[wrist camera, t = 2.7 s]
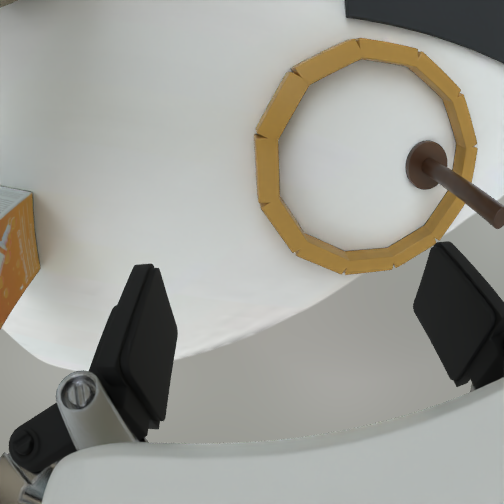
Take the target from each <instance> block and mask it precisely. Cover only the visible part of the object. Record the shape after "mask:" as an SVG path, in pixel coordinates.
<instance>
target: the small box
mask: <svg viewBox="0 0 504 504" xmlns="http://www.w3.org/2000/svg"><path fill="white" fill-rule="evenodd" d="M39 270H40V263H39V259H38V253H37V246H36V238H35V229H34V217H33V197H32V192H29V191H24V190H18V189H13V188H7V187H3V186H0V329H1V327H2V326H3V324H4V322H5V321H6V319H7V317H8V316H9V314H10V313H11V311H12V309H13V308H14V306H15V305H16V303H17V302H18V300H19V299H20V297H21V296H22V294H23V293H24V291H25V290H26V288H27V287H28V285H29V284H30V283H31V281H32V280H33V278H34V277H35V276H36V274H37V273H38V272H39Z"/></svg>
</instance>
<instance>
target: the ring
mask: <svg viewBox="0 0 504 504" xmlns="http://www.w3.org/2000/svg"><path fill="white" fill-rule="evenodd" d="M360 59H362V60H370V61H377V62H384V63H390V64H396V65H401V66H407V67H408V68H409V69H410V70H411V71H412V72H414V73H415V74H416V75H417V76H418V77H419V78H420V79H422V80H423V81H424V82H425V83H426V84H427V85H428V86H429V87H430V88H431V89H432V90H434V91H435V92H436V93H437V94H438V95H439V96H440V97H441V98H442V99H443V102H444V105H445V108H446V111H447V114H448V117H449V120H450V123H451V126H452V130H453V133H454V136H455V140H456V151H455V158H454V165H453V171H454V172H455V173H457V174H458V175H460V176H462V177H463V178H465V179H466V180H468V181H469V182H471V183H472V178H473V172H474V167H475V161H476V155H477V148H476V147H474V146H475V145H476V144H477V141H476V136H475V132H474V128H473V125H472V121H471V117H470V114H469V110H468V107H467V104H466V101H465V98H464V95H463V94H461V93H460V91H461V89H460V88H459V87H458V86H457V85H456V84H455V83H454V82H453V81H452V80H451V79H450V78H449V77H448V76H447V75H446V74H445V73H444V72H443V71H442V70H441V69H440V68H439V67H438V66H437V65H436V64H435V63H434V62H433V61H432V60H431V59H430V58H429V57H428V56H427V55H426V54H424V53H423V52H418V49H416V48H412V47H408V46H403V45H399V44H394V43H389V42H383V41H377V40H371V39H365V38H357V39H350V40H346V41H344V42H341V43H339V44H337V45H335V46H333V47H331V48H329V49H327V50H325V51H322V52H320V53H318V54H316V55H314V56H312V57H311V58H309V59H307V60H305V61H303V62H301V63H299V64H297V65H295V66H293V67H292V68H291V69H292V71H293V72H294V73H292V72H287V73H286V74H285V76H284V78H283V79H282V81H281V83H280V85H279V86H278V88H277V90H276V92H275V94H274V95H273V97H272V99H271V101H270V103H269V104H268V106H267V108H266V110H265V112H264V114H263V115H262V117H261V119H260V121H259V123H258V125H257V127H256V132H257V133H258V134H256V135H254V145H255V162H256V179H257V195H258V201H259V203H260V206H261V209H262V211H263V212H264V214H265V215H266V216H267V218H268V219H269V220H270V222H271V223H272V225H273V226H274V227H275V229H276V230H277V232H278V233H279V234H280V236H281V237H282V239H283V240H284V241H285V243H286V244H287V246H288V247H289V249H290V250H291V251H292V253H294V252H295V253H296V256H298V257H300V258H303V259H305V260H308V261H310V262H313V263H315V264H317V265H320V266H322V267H325V268H327V269H330V270H332V271H334V272H337V273H339V274H342V273H343V272H344V273H345V275H349V274H358V273H367V272H376V271H385V270H392V268H393V265H394V266H395V267H396V268H397V267H399V266H400V265H402V264H404V263H405V262H407V261H409V260H410V259H412V258H414V257H415V256H417V255H418V254H420V253H421V252H423V251H425V250H427V249H428V248H430V247H431V246H433V245H435V243H436V241H435V238H436V239H438V240H440V239H441V238H442V236H443V235H444V233H445V232H446V231H447V229H448V228H449V226H450V225H451V224H452V222H453V221H454V219H455V218H456V216H457V215H458V213H459V212H460V210H461V209H462V207H463V206H464V204H465V203H464V202H463V201H462V200H460V199H459V198H458V197H457V196H455V195H454V194H453V193H451V192H450V191H449V190H448V191H447V193H446V194H445V196H444V197H443V199H442V200H441V202H440V203H439V205H438V206H437V208H436V209H435V211H434V212H433V214H432V215H431V216H430V218H429V219H428V221H427V222H426V224H425V225H424V226H423V227H421V228H419V229H418V230H416V231H414V232H413V233H411V234H410V235H408V236H406V237H405V238H403V239H401V240H400V241H398V242H396V243H395V244H393V245H391V246H390V247H388V248H379V249H367V250H356V251H343V250H341V249H338V248H336V247H334V246H332V245H330V244H328V243H325V242H323V241H321V240H319V239H317V238H314V237H312V236H310V235H308V234H306V233H304V232H303V230H302V229H301V227H300V226H299V224H298V222H297V221H296V219H295V218H294V216H293V215H292V213H291V212H290V210H289V209H288V207H287V206H286V204H285V203H284V201H283V200H282V198H281V197H280V186H279V150H278V140H279V138H280V136H281V134H282V132H283V131H284V129H285V127H286V125H287V124H288V122H289V120H290V118H291V116H292V115H293V113H294V111H295V109H296V108H297V106H298V104H299V102H300V101H301V99H302V97H303V95H304V94H305V92H306V90H307V88H308V87H309V85H311V84H313V83H314V82H316V81H318V80H320V79H322V78H324V77H326V76H328V75H330V74H332V73H334V72H335V71H337V70H339V69H341V68H343V67H346V66H348V65H350V64H352V63H354V62H356V61H358V60H360Z"/></svg>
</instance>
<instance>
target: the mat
mask: <svg viewBox="0 0 504 504" xmlns="http://www.w3.org/2000/svg"><path fill="white" fill-rule="evenodd" d="M345 8H346V17H347V18H353V19H360V20H366V21H372V22H378V23H383V24H388V25H392V26H397V27H401V28H405V29H409V30H413V31H417V32H421V33H424V34H428V35H431V36H434V37H438V38H441V39H444V40H447V41H450V42H453V43H456V44H458V45H461V46H464V47H466V48H469V49H472V50H474V51H477V52H479V53H481V54H484V55H486V56H488V57H491V58H493V59H495V60H497V61H499V62H502V63H504V0H345Z"/></svg>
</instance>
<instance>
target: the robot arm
mask: <svg viewBox="0 0 504 504" xmlns="http://www.w3.org/2000/svg"><path fill="white" fill-rule="evenodd" d="M413 309H414V312H415V314H416V316H417V318H418V319H419V321H420V323H421V325H422V326H423V328H424V330H425V332H426V333H427V335H428V337H429V339H430V340H431V343H432V344H433V346H434V348H435V350H436V352H437V354H438V356H439V358H440V360H441V362H442V363H443V365H444V367H445V369H446V371H447V373H448V375H449V377H450V379H451V380H454V382H455V384H456V387H458V386H461V385H463V384H466V383H468V381H469V380H470V379H471V381H472V386H471V391H470V392H469V393H467V394H465V395H462V396H460V397H457V398H455V399H452V400H449V401H447V402H444V403H441V404H438V405H436V406H432V407H430V408H426V409H424V410H420V411H418V412H414V413H411V414H408V415H404V416H401V417H397V418H394V419H390V420H386V421H382V422H378V423H374V424H370V425H366V426H362V427H357V428H353V429H347V430H342V431H337V432H331V433H326V434H319V435H313V436H306V437H299V438H291V439H281V440H272V441H258V442H242V443H214V444H213V443H212V444H187V443H149V442H148V441H147V439H146V438H145V436H147V433H148V429H159V423H160V421H164V419H165V415H166V408H167V401H168V394H169V386H170V380H171V373H172V367H173V360H174V354H175V348H176V342H177V335H178V332H177V326H176V322H175V319H174V316H173V313H172V310H171V307H170V303H169V300H168V297H167V293H166V290H165V287H164V283H163V280H162V276H161V273H160V270H159V268H154V266H153V264H141V265H135V266H134V267H133V270H132V272H131V274H130V276H129V279H128V281H127V283H126V286H125V288H124V290H123V293H122V295H121V297H120V300H119V302H118V305H116V306H115V307H114V308H113V309H112V311H111V314H110V316H109V318H108V321H107V323H106V326H105V328H104V331H103V334H102V336H101V339H100V341H99V344H98V347H97V350H96V352H95V355H94V358H93V361H92V363H91V366H90V369H89V371H84V370H83V371H76V372H73V373H71V374H69V375H68V376H66V377H65V378H64V379H63V380H62V381H61V383H60V384H59V386H58V389H57V392H56V401H57V403H55V404H54V405H52V406H51V407H49V408H48V409H46V410H45V411H43V412H41V413H40V414H38V415H37V416H35V417H34V418H32V419H31V420H29V421H27V422H26V423H24V424H23V425H21V426H19V427H18V428H17V429H16V430H15V431H14V432H13V434H12V435H11V437H10V441H9V452H10V453H9V454H6V453H3V454H2V456H1V457H0V504H504V302H503V301H502V300H501V298H500V297H499V296H498V294H497V293H496V292H495V291H494V289H493V288H492V287H491V286H490V285H489V283H488V282H487V281H486V280H485V279H484V278H483V277H482V276H481V274H480V273H479V272H478V271H477V270H476V269H475V267H474V266H473V265H472V264H471V263H470V262H469V261H468V260H467V259H466V257H465V256H464V255H463V254H462V253H461V252H460V251H459V250H458V249H457V248H456V247H455V246H454V245H453V244H452V243H451V242H437V243H435V245H434V247H432V248H431V250H430V253H429V257H428V260H427V264H426V267H425V270H424V273H423V277H422V280H421V283H420V286H419V289H418V292H417V295H416V298H415V300H414V304H413Z"/></svg>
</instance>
